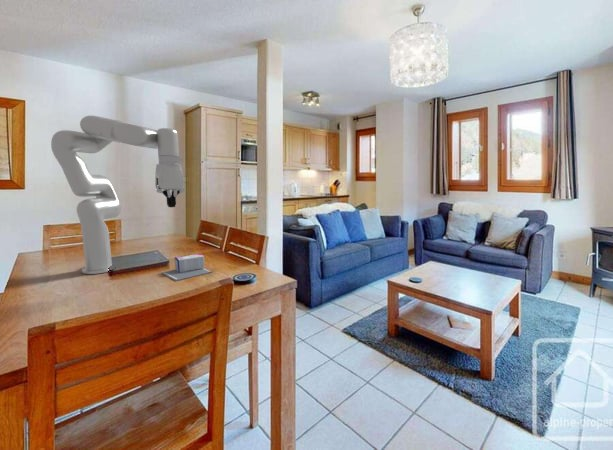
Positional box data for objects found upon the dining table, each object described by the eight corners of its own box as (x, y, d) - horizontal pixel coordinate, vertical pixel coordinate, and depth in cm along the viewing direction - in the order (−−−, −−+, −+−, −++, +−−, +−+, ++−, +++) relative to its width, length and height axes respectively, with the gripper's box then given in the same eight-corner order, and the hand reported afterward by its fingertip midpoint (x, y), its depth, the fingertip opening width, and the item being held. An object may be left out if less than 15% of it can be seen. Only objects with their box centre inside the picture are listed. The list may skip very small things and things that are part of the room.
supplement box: (178, 273, 130) (205, 268, 136) (177, 259, 129) (204, 255, 135) (175, 269, 135) (201, 265, 141) (174, 257, 134) (200, 252, 140)
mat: (161, 273, 130) (161, 272, 130) (196, 265, 142) (196, 264, 141) (176, 281, 121) (175, 280, 120) (212, 272, 132) (212, 271, 132)
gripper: (183, 162, 128) (185, 205, 131) (145, 160, 117) (148, 207, 120) (191, 161, 123) (193, 206, 126) (153, 159, 112) (156, 209, 115)
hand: (171, 206), depth 123 cm, fingers closed
